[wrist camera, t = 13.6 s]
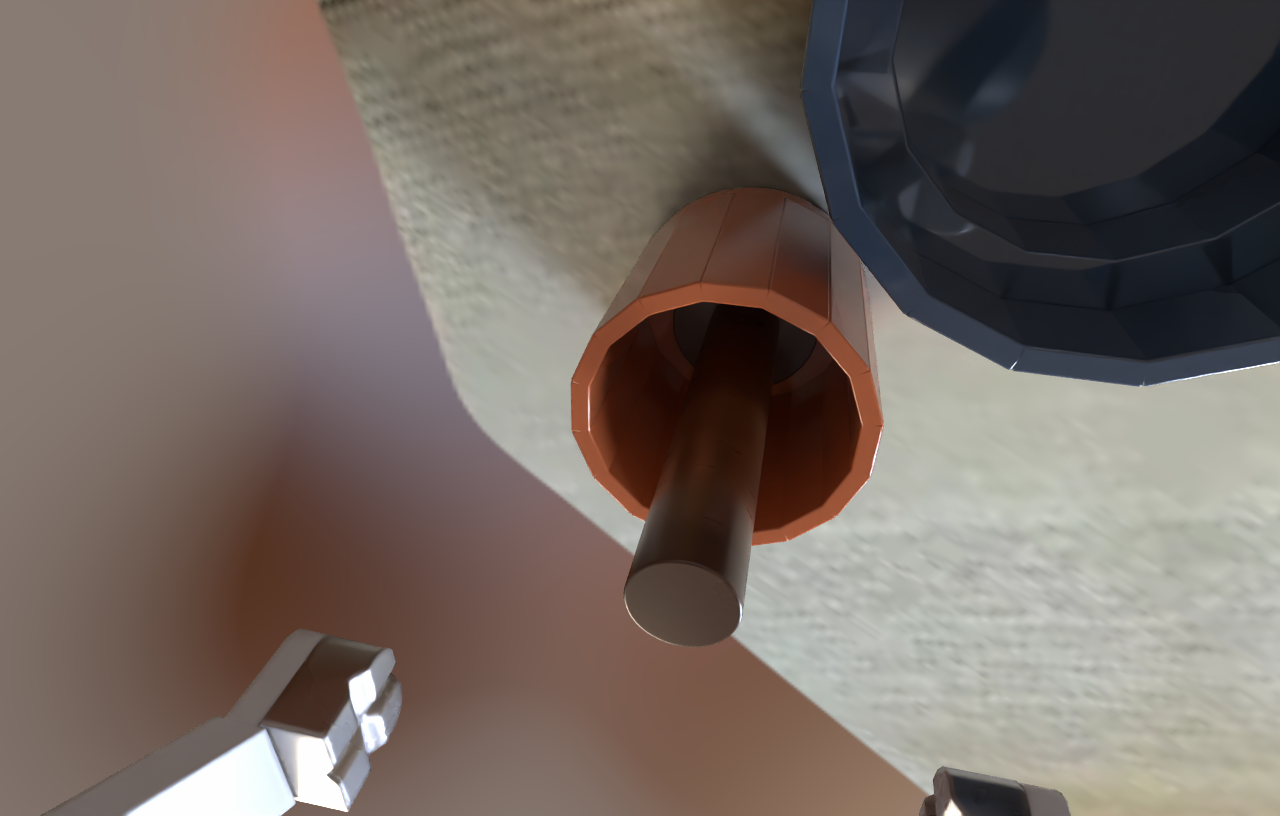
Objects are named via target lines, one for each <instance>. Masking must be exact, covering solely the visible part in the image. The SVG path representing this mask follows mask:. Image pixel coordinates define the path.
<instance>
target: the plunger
mask: <svg viewBox="0 0 1280 816" xmlns="http://www.w3.org/2000/svg"><path fill="white" fill-rule="evenodd" d="M673 327H674V334H675V337H676V341H677V344H678V346H679V348H680V350H681V352H682V353H683V355H684V357H685V358H686V359H687V361H688V362H689V363H690V364H691V365H692V366H693V367H694V368H695V369H694V372H693V375H692V378H691V381H690V384H689V387H688V390H687V394H686V397H685V400H684V403H683V406H682V409H681V412H680V415H679V419H678V422H677V425H676V428H675V431H674V434H673V437H672V440H671V444H670V447H669V450H668V453H667V456H666V459H665V462H664V465H663V469H662V472H661V475H660V478H659V481H658V484H657V487H656V490H655V493H654V497H653V500H652V503H651V506H650V509H649V512H648V515H647V518H646V522H645V525H644V528H643V531H642V534H641V537H640V540H639V543H638V547H637V550H636V553H635V556H634V559H633V562H632V565H631V569H630V572H629V575H628V578H627V581H626V584H625V588H624V601H625V605H626V608H627V610H628V613H629V614H630V616H631V617H632V619H633V620H634V621H635V622H636V624H637V625H638V626H639V627H640V628H642V629H643V630H644V631H645V632H647V633H648V634H650V635H651V636H653V637H655V638H657V639H659V640H661V641H664V642H667V643H670V644H673V645H677V646H683V647H704V646H709V645H713V644H716V643H719V642H721V641H723V640H724V639H726V638H728V637H729V636H730V635H731V634H732V633H733V632H734V631H735V630H736V629H737V627H738V626H739V624H740V621H741V618H742V613H743V606H744V598H745V591H746V583H747V575H748V568H749V560H750V552H751V545H752V537H753V529H754V522H755V514H756V506H757V499H758V491H759V483H760V476H761V468H762V461H763V453H764V445H765V438H766V430H767V422H768V415H769V407H770V399H771V392H772V385H774V384H777V383H779V382H782V381H783V380H785V379H787V378H789V377H790V376H792V375H793V374H794V373H796V372H797V371H798V370H799V369H800V368H801V367H802V366H803V365H804V364H805V363H806V361H807V360H808V359H809V357H810V355H811V354H812V352H813V350H814V347H815V345H816V342H817V338H816V337H815V336H814V335H812V334H810V333H808V332H806V331H805V330H803V329H801V328H799V327H797V326H795V325H793V324H791V323H789V322H787V321H785V320H784V319H782V318H780V317H778V316H776V315H774V314H772V313H770V312H768V311H766V310H764V309H763V308H755V307H747V306H738V305H730V304H722V303H713V302H705V301H703V302H699V303H695V304H691V305H687V306H683V307H679V308H676V309H674V315H673Z"/></svg>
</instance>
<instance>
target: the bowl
mask: <svg viewBox="0 0 1280 816" xmlns="http://www.w3.org/2000/svg"><path fill="white" fill-rule="evenodd" d="M800 89H801V94H800V96H801V100H802V104H803V108H804V112H805V116H806V120H807V124H808V128H809V132H810V137H811V141H812V145H813V149H814V153H815V157H816V161H817V165H818V169H819V173H820V177H821V181H822V185H823V189H824V193H825V198H826V202H827V206H828V210H829V214H830V218H831V219H832V223H833V224H834V226H835V227H836V228H837V230H838V231H839V232H840V233H841V235H842V236H843V237H844V238H845V240H846V241H847V242H848V244H849V245H850V246H851V247H852V249H853V250H854V251H855V252H856V254H857V255H858V256H859V258H860V259H861V260H862V261H863V263H864V264H865V265H866V266H867V268H868V269H869V270H870V272H871V273H872V274H873V275H874V277H875V278H876V279H877V281H878V282H879V283H880V284H881V286H882V287H883V288H884V289H885V291H886V292H887V293H888V295H889V296H890V297H891V298H892V300H893V301H894V302H895V303H896V305H897V306H898V307H899V309H900V310H901V311H902V312H903V314H906V315H907V316H908V317H910V318H912V319H914V320H916V321H917V322H919V323H921V324H923V325H925V326H927V327H929V328H931V329H933V330H934V331H936V332H938V333H940V334H942V335H944V336H946V337H948V338H950V339H951V340H953V341H955V342H957V343H959V344H961V345H963V346H965V347H967V348H968V349H970V350H972V351H974V352H976V353H978V354H980V355H982V356H984V357H985V358H987V359H989V360H991V361H993V362H995V363H997V364H999V365H1001V366H1002V367H1004V368H1006V369H1009V370H1010V369H1011V370H1013V371H1019V372H1026V373H1034V374H1042V375H1050V376H1058V377H1066V378H1074V379H1082V380H1090V381H1098V382H1106V383H1114V384H1122V385H1130V386H1138V387H1139V386H1150V385H1156V384H1162V383H1167V382H1173V381H1179V380H1184V379H1190V378H1196V377H1201V376H1207V375H1213V374H1219V373H1224V372H1230V371H1236V370H1241V369H1247V368H1253V367H1258V366H1264V365H1270V364H1275V363H1280V0H812V4H811V11H810V18H809V26H808V33H807V40H806V47H805V55H804V62H803V69H802V76H801V84H800Z"/></svg>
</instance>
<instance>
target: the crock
mask: <svg viewBox="0 0 1280 816" xmlns="http://www.w3.org/2000/svg"><path fill="white" fill-rule="evenodd" d="M703 301H705V302H713V303H722V304H730V305H738V306H747V307H755V308H763V309H764V310H766V311H768V312H770V313H772V314H774V315H776V316H778V317H780V318H782V319H784V320H785V321H787V322H789V323H791V324H793V325H795V326H797V327H799V328H801V329H803V330H805V331H806V332H808V333H810V334H812V335H814V336H815V337H816V338H817V342H816V345H815V347H814V350H813V352H812V354H811V355H810V357H809V359H808V360H807V361H806V363H805V364H804V365H803V366H802V367H801V368H800V369H799V370H798V371H797V372H796V373H794V374H793V375H792V376H790V377H789V378H787V379H785V380H783V381H782V382H779V383H777V384H774V385H772V392H771V399H770V407H769V415H768V422H767V430H766V438H765V445H764V453H763V461H762V468H761V476H760V483H759V491H758V499H757V506H756V514H755V522H754V529H753V537H752V545H751V546H754V545H761V544H769V543H777V542H784V541H788V540H791V539H793V538H795V537H797V536H799V535H801V534H803V533H805V532H807V531H809V530H811V529H813V528H815V527H817V526H819V525H821V524H823V523H825V522H827V521H829V520H831V519H833V518H835V517H836V516H838V515H839V513H840V512H841V511H842V510H843V509H844V507H845V506H846V505H847V504H848V503H849V502H850V500H851V499H852V498H853V497H854V496H855V495H856V493H857V492H858V491H859V490H860V489H861V488H862V486H863V485H864V484H865V483H866V482H867V481H868V479H869V478H870V476H871V474H872V471H873V467H874V463H875V459H876V455H877V451H878V447H879V443H880V439H881V435H882V431H883V427H884V426H883V413H882V404H881V395H880V386H879V377H878V369H877V360H876V351H875V342H874V333H873V324H872V316H871V307H870V300H869V296H868V291H867V287H866V280H865V274H864V270H863V267H862V264H861V260H860V258H859V256H858V255H857V254H856V252H855V251H854V250H853V249H852V247H851V246H850V245H849V244H848V242H847V241H846V240H845V238H844V237H843V236H842V235H841V233H840V232H839V231H838V230H837V228H836V227H835V226H834V224H833V223H832V219H831V218H830V216H829V215H827V214H826V213H825V212H824V211H823V210H821V209H820V208H818V207H816V206H815V205H813V204H812V203H810V202H808V201H806V200H804V199H802V198H800V197H797V196H795V195H793V194H789V193H786V192H783V191H779V190H774V189H768V188H758V187H742V188H733V189H727V190H723V191H719V192H714V193H712V194H709V195H707V196H704V197H701V198H699V199H697V200H695V201H693V202H692V203H690V204H688V205H686V206H685V207H683V208H682V209H681V210H679V211H678V212H677V213H675V214H674V215H673V216H672V217H671V218H670V219H669V220H668V221H667V222H666V223H665V224H664V225H663V226H662V227H661V228H660V230H659V231H658V232H657V233H656V234H655V235H654V236H653V237H652V238H651V240H650V241H649V243H648V245H647V246H646V248H645V249H644V251H643V253H642V254H641V256H640V258H639V259H638V261H637V263H636V264H635V266H634V267H633V269H632V271H631V272H630V274H629V276H628V277H627V279H626V281H625V282H624V284H623V285H622V287H621V289H620V290H619V292H618V294H617V295H616V297H615V298H614V300H613V302H612V303H611V305H610V307H609V308H608V310H607V312H606V313H605V315H604V316H603V318H602V320H601V321H600V323H599V325H598V326H597V328H596V330H595V331H594V333H593V334H592V336H591V339H590V341H589V343H588V345H587V347H586V349H585V351H584V353H583V355H582V358H581V360H580V362H579V364H578V366H577V368H576V370H575V372H574V375H573V377H572V381H571V421H572V431H573V435H574V437H575V439H576V441H577V444H578V446H579V448H580V450H581V452H582V454H583V457H584V459H585V461H586V463H587V465H588V467H589V469H590V472H591V474H592V476H593V477H594V479H595V480H596V481H597V482H598V483H599V484H600V485H601V486H602V487H603V488H604V489H605V490H606V491H608V492H609V493H610V494H611V495H612V496H613V497H614V498H615V499H616V500H617V501H618V502H619V503H620V504H621V505H622V506H623V507H624V508H625V509H626V510H627V511H628V512H629V513H630V514H631V513H632V515H633V516H635V517H637V518H639V519H641V520H643V521H645V522H646V518H647V515H648V512H649V509H650V506H651V503H652V500H653V497H654V493H655V490H656V487H657V484H658V481H659V478H660V475H661V472H662V469H663V465H664V462H665V459H666V456H667V453H668V450H669V447H670V444H671V440H672V437H673V434H674V431H675V428H676V425H677V422H678V419H679V415H680V412H681V409H682V406H683V403H684V400H685V397H686V394H687V390H688V387H689V384H690V381H691V378H692V375H693V372H694V369H695V368H694V367H693V366H692V365H691V364H690V363H689V362H688V361H687V359H686V358H685V357H684V355H683V353H682V352H681V350H680V348H679V346H678V344H677V341H676V337H675V334H674V327H673V315H674V309H676V308H679V307H683V306H687V305H691V304H695V303H699V302H703Z"/></svg>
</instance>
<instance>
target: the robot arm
mask: <svg viewBox="0 0 1280 816" xmlns="http://www.w3.org/2000/svg"><path fill="white" fill-rule="evenodd" d="M395 664H396V662H395V658H394V655H393V651H392V649H388V648H384V647H379V646H375V645H370V644H366V643H361V642H357V641H352V640H348V639H344V638H339V637H335V636H332V635H328V634H323V633H318V632H313V631H309V630H304V629H298V630H297V631H295V632H294V633H292V634H291V635H290V636H288V637H287V638H286V640H285V641H284V642H283V644H282V645H281V646H280V647H279V649H278V650H277V651H276V653H275V654H274V655H273V656H272V658H271V659H270V660H269V661H268V663H267V664H266V666H265V667H264V668H263V669H262V671H261V672H260V673H259V674H258V676H257V677H256V678H255V679H254V681H253V682H252V683H251V685H250V686H249V687H248V689H247V690H246V691H245V692H244V694H243V695H242V696H241V697H240V699H239V700H238V701H237V703H236V704H235V705H234V706H233V708H232V709H231V710H230V712H229V713H228V714H227V715H226V717H225V718H224V717H219V716H215V717H213V718H211V719H210V720H208V721H206V722H205V723H203V724H201V725H199V726H197V727H196V728H194V729H192V730H191V731H189V732H187V733H185V734H183V735H181V736H180V737H178V738H176V739H175V740H173V741H171V742H169V743H167V744H166V745H164V746H162V747H160V748H159V749H157V750H155V751H153V752H152V753H150V754H148V755H146V756H145V757H143V758H141V759H139V760H137V761H136V762H134V763H132V764H130V765H129V766H127V767H125V768H123V769H122V770H120V771H118V772H116V773H115V774H113V775H111V776H109V777H108V778H106V779H104V780H102V781H101V782H99V783H97V784H95V785H94V786H92V787H90V788H88V789H86V790H85V791H83V792H81V793H79V794H78V795H76V796H74V797H73V798H70V799H69V800H67V801H65V802H63V803H62V804H60V805H58V806H56V807H55V808H53V809H51V810H49V811H48V812H46V813H44V814H42V815H41V816H281V815H282V814H283V813H285V812H286V811H287V810H288V809H290V808H291V807H292V806H293V805H295V803H296V802H295V800H298V801H303V802H307V803H312V804H316V805H321V806H325V807H330V808H334V809H339V810H343V811H348V810H349V809H350V807H351V805H352V803H353V801H354V800H355V798H356V796H357V794H358V793H359V791H360V789H361V787H362V785H363V783H364V782H365V780H366V778H367V776H368V775H369V772H370V771H371V764H370V756H369V754H370V753H371V752H373V751H375V750H376V749H378V748H379V747H380V746H382V745H384V744H385V743H386V742H387V740H388V738H389V736H390V734H391V733H392V731H393V729H394V727H395V725H396V722H397V718H398V715H399V712H400V709H401V705H402V688H401V684H400V681H399V680H398V679H397V678H396V677H395V676H394V675H393V674H392V673H391V671H392V669H393V667H394V666H395ZM933 786H934V794H933V795H931V796H929V797H926V798H925V799H924V802H923V804H922V807H921V810H920V813H919V816H1071V814H1070V810H1069V806H1068V803H1067V801H1066V799H1065V798H1064V796H1063V795H1062V793H1061V792H1059V791H1057V790H1054V789H1049V788H1044V787H1039V786H1034V785H1029V784H1024V783H1018V782H1017V781H1014V780H1009V779H1004V778H999V777H994V776H989V775H984V774H979V773H974V772H969V771H964V770H958V769H953V768H948V767H941V768H939V769H938V770H937V772H936V774H935V776H934V779H933Z"/></svg>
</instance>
